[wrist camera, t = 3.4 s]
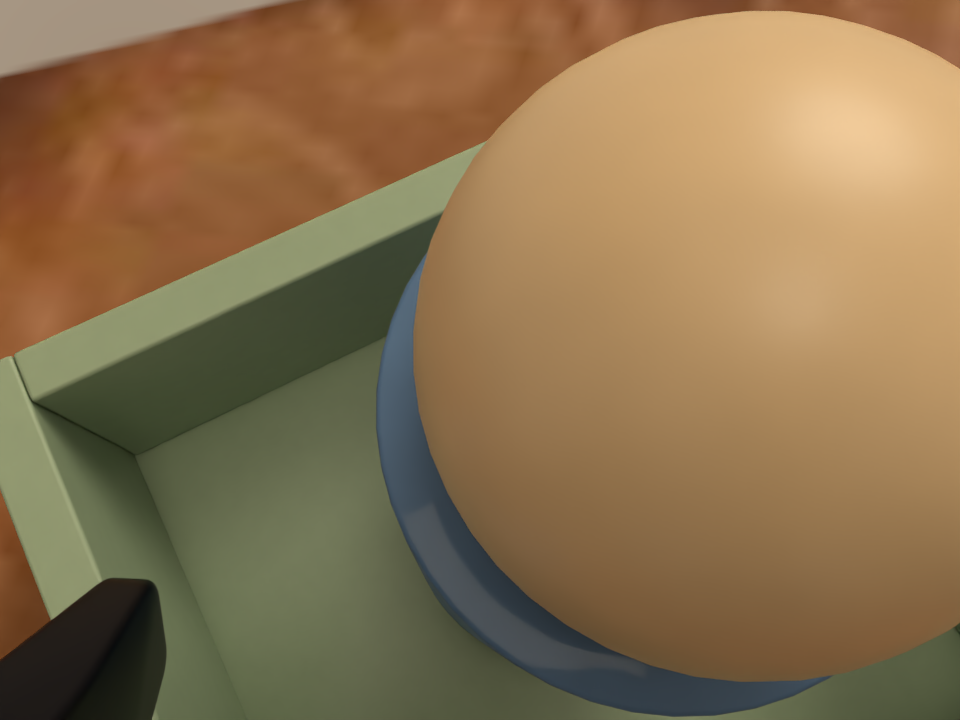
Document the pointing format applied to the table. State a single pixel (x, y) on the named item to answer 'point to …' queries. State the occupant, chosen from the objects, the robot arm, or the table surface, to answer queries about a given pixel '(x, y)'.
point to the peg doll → (694, 368)
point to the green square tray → (293, 494)
